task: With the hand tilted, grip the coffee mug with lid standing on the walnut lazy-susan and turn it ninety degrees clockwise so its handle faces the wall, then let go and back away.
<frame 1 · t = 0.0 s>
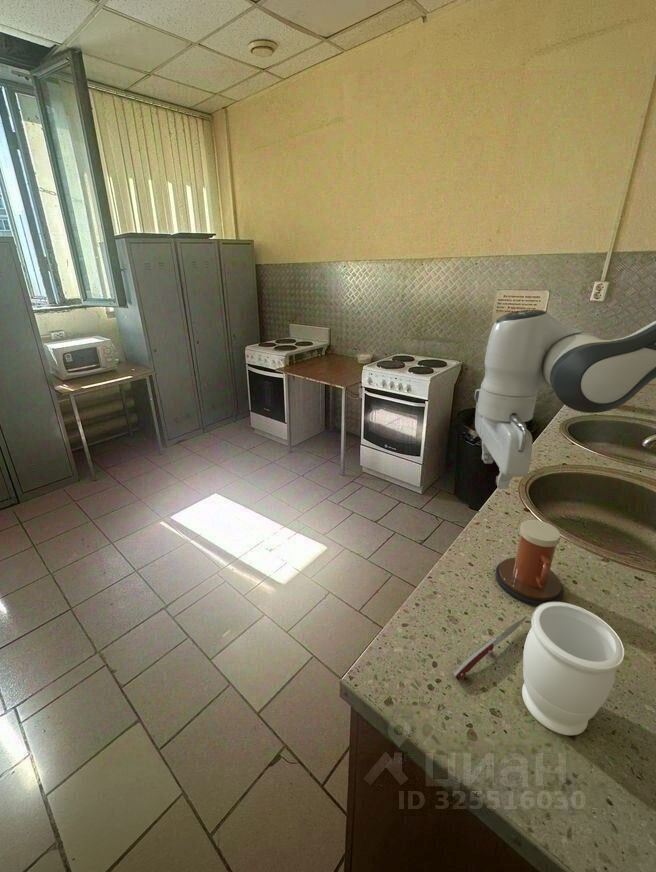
hand: (493, 473, 74), 24 cm above the counter, tool pointing down, fingers open, 8 cm apart
coffee mug with lid: (534, 555, 78), point 7 cm above the counter, hinge at 0.0°
jar: (552, 706, 59), on the counter
soap dispenser: (604, 404, 176), on the counter
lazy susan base: (527, 583, 81), on the counter
knife: (491, 651, 67), on the counter
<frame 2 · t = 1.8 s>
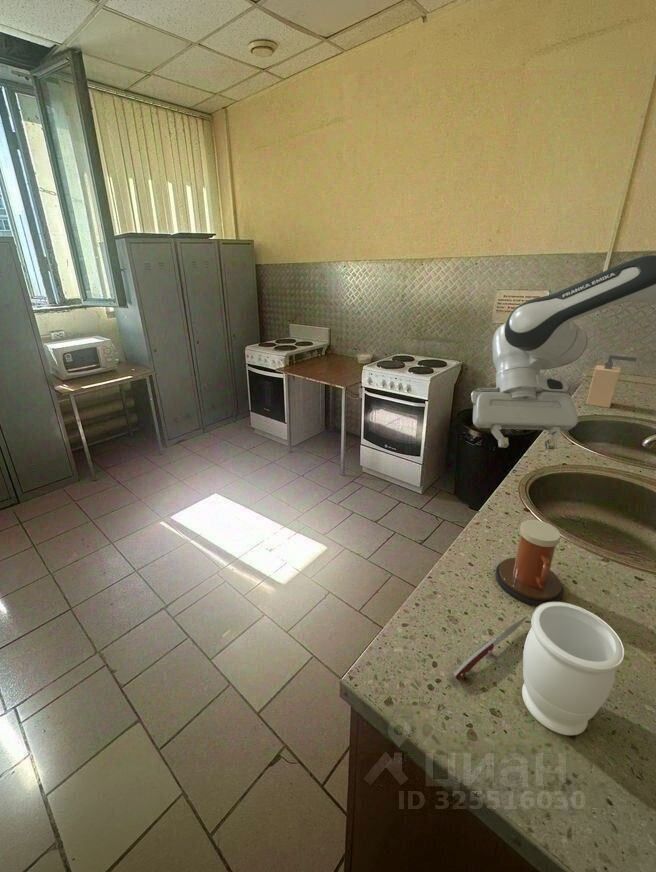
hand: (527, 447, 83), 25 cm above the counter, tool tilted 45°, fingers open, 8 cm apart
nothing on the counter moved.
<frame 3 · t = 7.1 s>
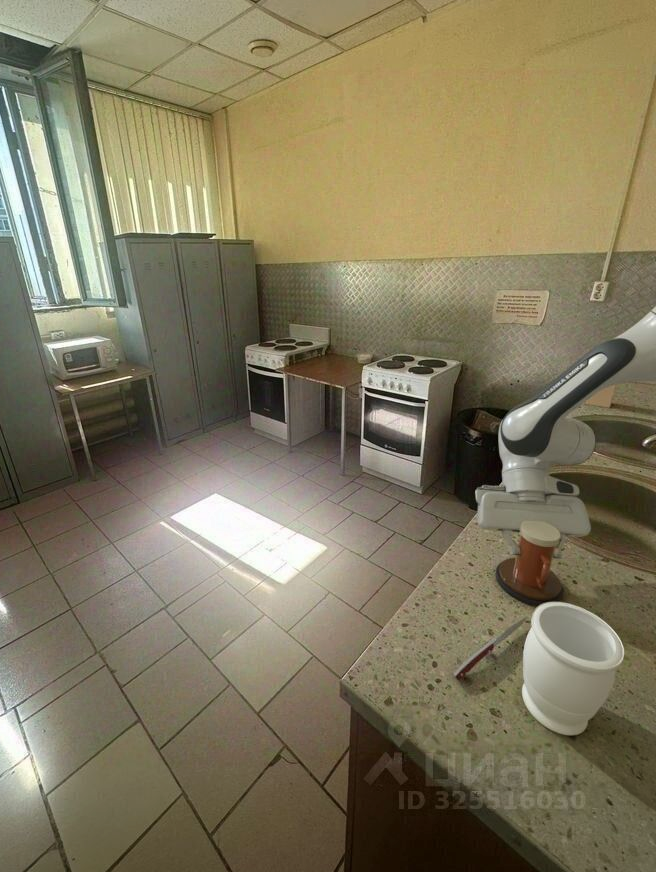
hand: (536, 556, 77), 7 cm above the counter, tool tilted 45°, fingers closed on coffee mug with lid, 6 cm apart
coffee mug with lid: (534, 555, 78), point 7 cm above the counter, hinge at 0.0°, touching gripper
everything else where it was.
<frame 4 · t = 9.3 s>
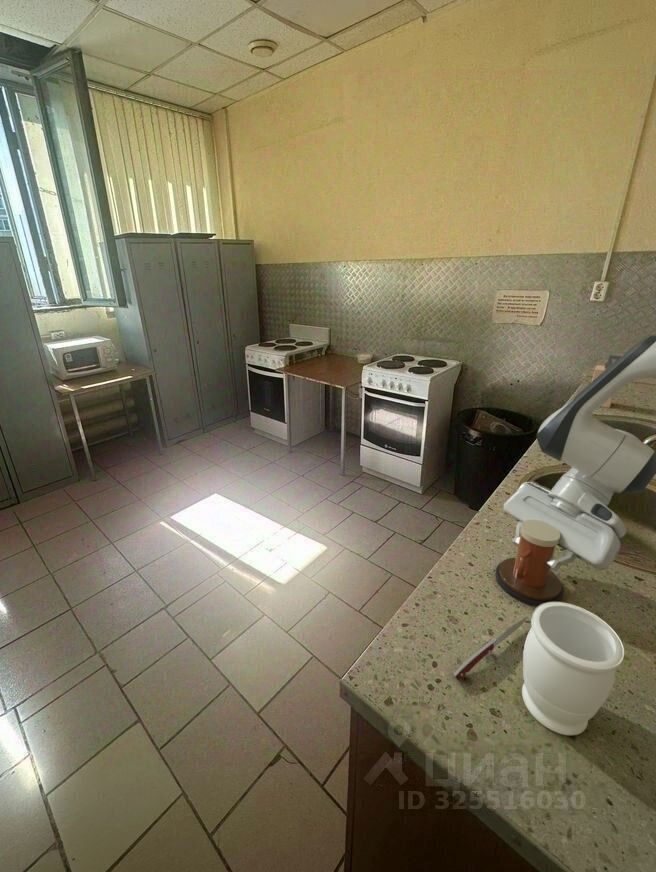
hand: (532, 556, 78), 7 cm above the counter, tool tilted 45°, fingers closed on coffee mug with lid, 6 cm apart
coffee mug with lid: (534, 555, 78), point 7 cm above the counter, hinge at -44.5°, touching gripper
everything else where it was.
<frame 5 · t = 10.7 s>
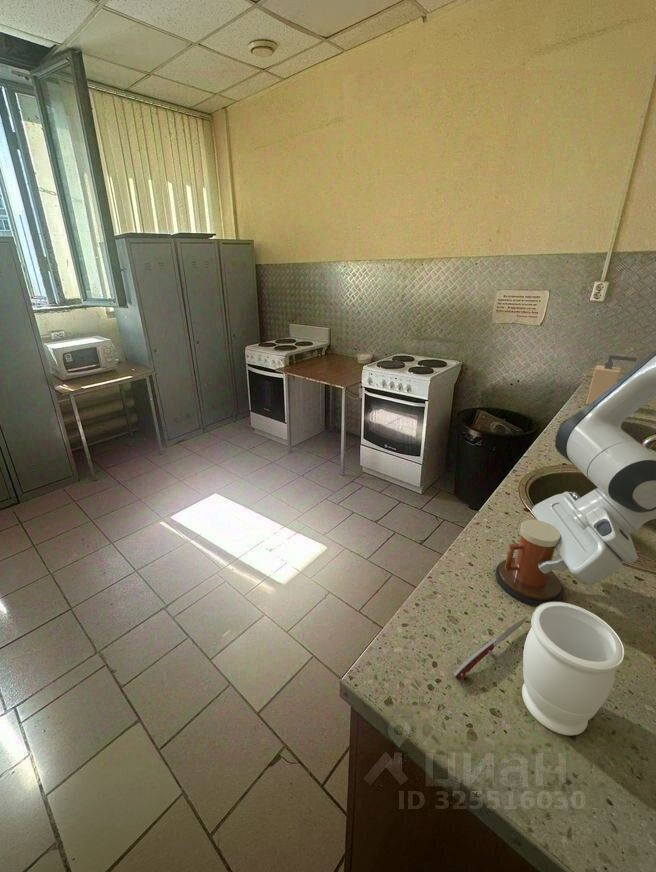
hand: (532, 555, 78), 7 cm above the counter, tool tilted 45°, fingers closed on coffee mug with lid, 6 cm apart
coffee mug with lid: (534, 555, 78), point 7 cm above the counter, hinge at -76.7°, touching gripper
everything else where it was.
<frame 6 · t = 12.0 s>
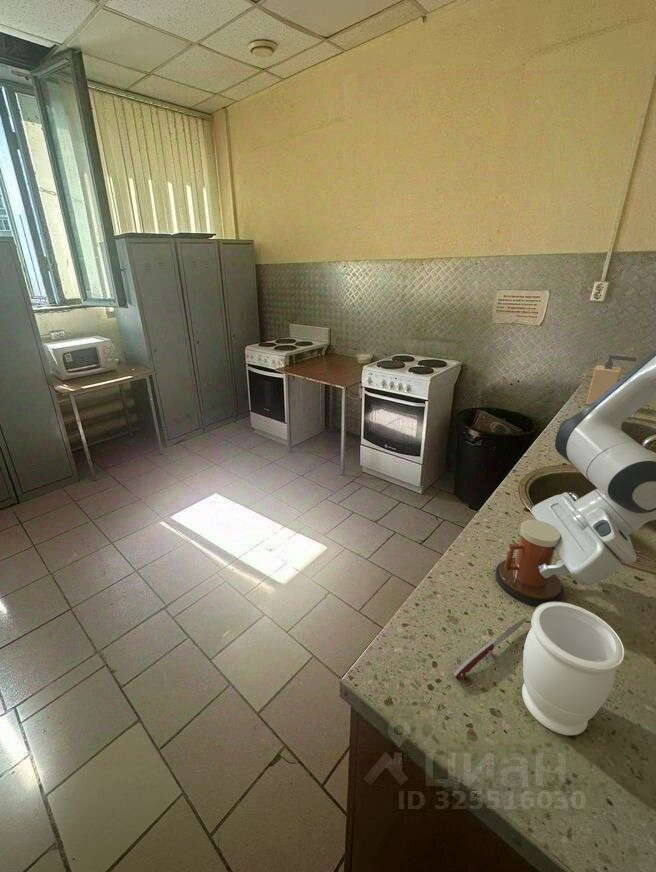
hand: (531, 555, 78), 7 cm above the counter, tool tilted 45°, fingers open, 8 cm apart
coffee mug with lid: (534, 555, 78), point 7 cm above the counter, hinge at -77.4°
everything else where it was.
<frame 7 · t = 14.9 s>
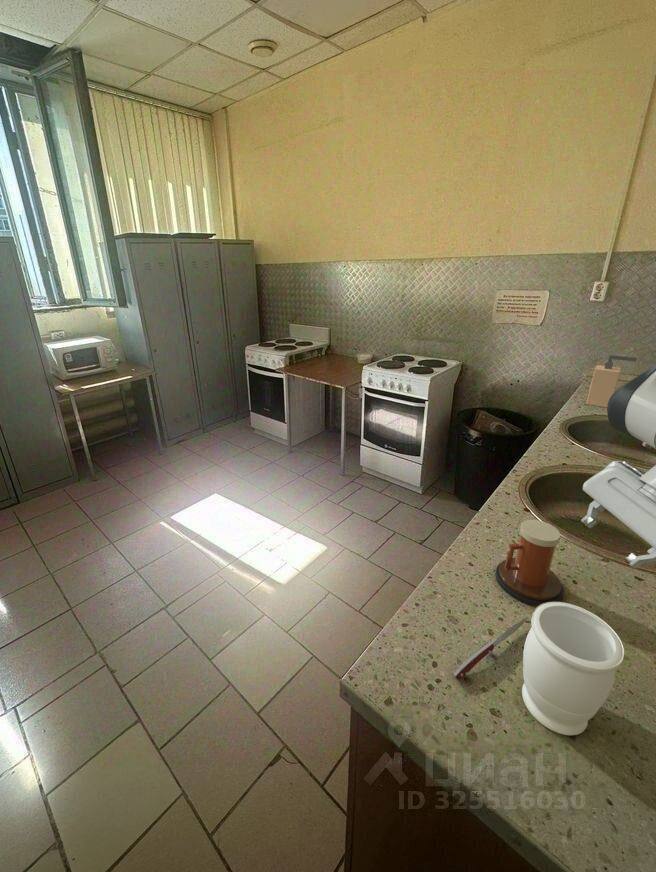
hand: (606, 543, 71), 14 cm above the counter, tool tilted 35°, fingers open, 8 cm apart
nothing on the counter moved.
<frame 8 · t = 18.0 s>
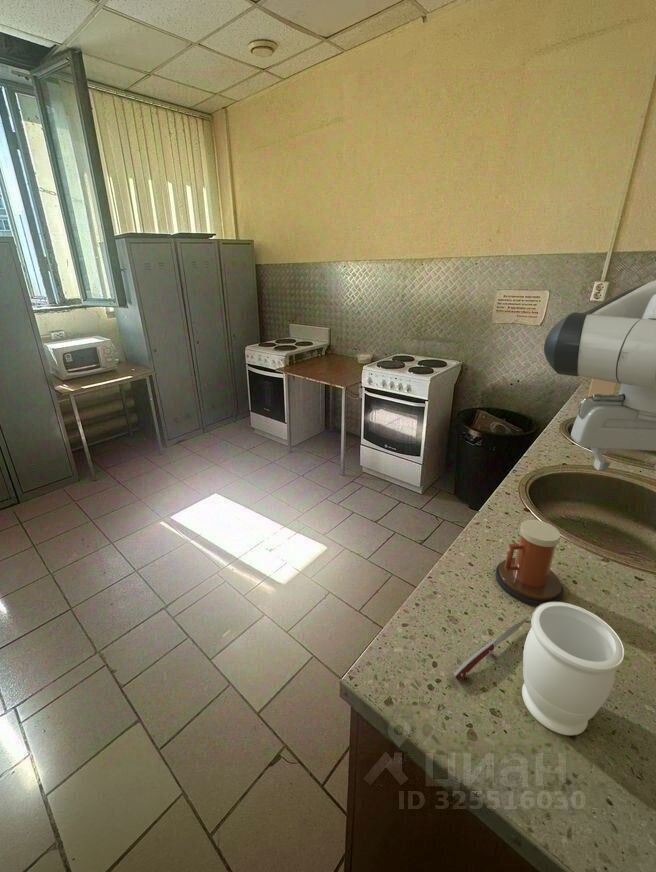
hand: (630, 470, 69), 27 cm above the counter, tool pointing down, fingers open, 8 cm apart
nothing on the counter moved.
at the end: coffee mug with lid at -77° (first picture: +0°); jar moved 0.2 cm from its start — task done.
